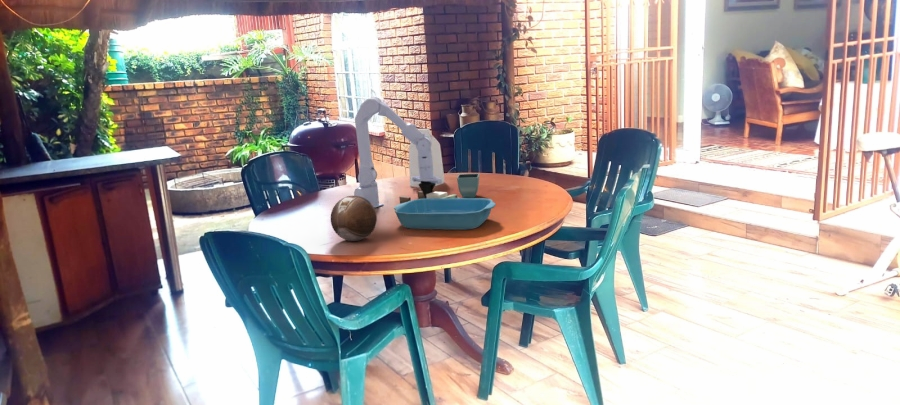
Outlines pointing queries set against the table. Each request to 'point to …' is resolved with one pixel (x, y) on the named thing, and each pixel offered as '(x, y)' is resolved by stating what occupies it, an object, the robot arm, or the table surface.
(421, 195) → the trap lane
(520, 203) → the table surface
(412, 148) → the milk
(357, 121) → the robot arm
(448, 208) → the casserole dish
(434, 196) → the block
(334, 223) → the wooden sphere
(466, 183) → the flower pot
